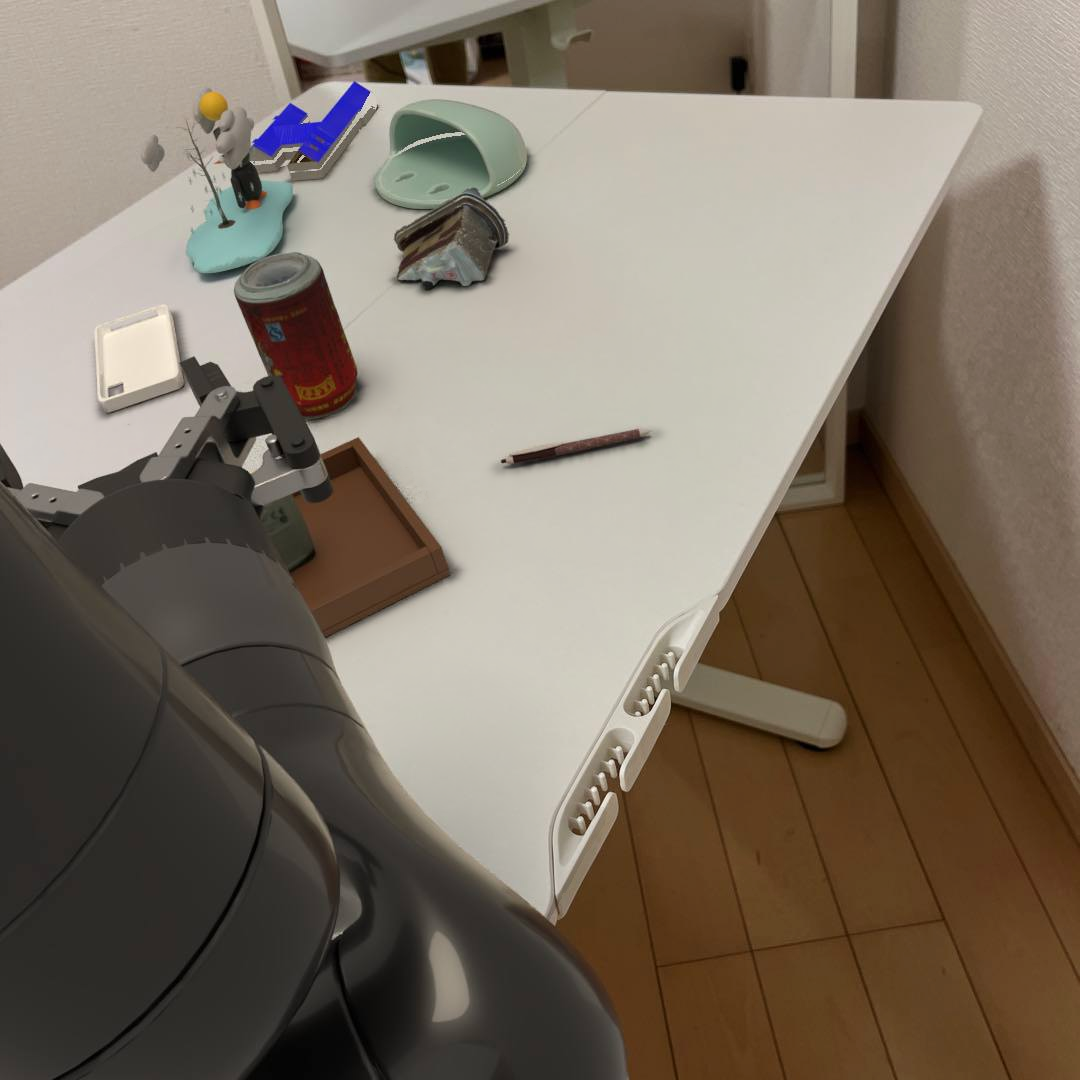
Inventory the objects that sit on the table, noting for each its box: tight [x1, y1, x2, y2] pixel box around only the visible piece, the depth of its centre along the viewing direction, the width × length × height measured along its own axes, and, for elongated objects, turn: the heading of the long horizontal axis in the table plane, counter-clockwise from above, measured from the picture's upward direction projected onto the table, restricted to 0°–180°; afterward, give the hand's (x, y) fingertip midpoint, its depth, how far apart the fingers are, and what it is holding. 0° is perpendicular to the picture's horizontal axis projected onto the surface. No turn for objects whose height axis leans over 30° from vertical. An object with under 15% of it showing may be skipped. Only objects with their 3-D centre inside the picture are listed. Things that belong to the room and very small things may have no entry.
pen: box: [500, 428, 653, 465], centre depth 81 cm, size 11×1×1 cm, turn 96°
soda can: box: [233, 251, 358, 420], centre depth 89 cm, size 7×7×12 cm
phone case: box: [93, 303, 185, 413], centre depth 103 cm, size 7×1×15 cm
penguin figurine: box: [140, 86, 294, 274], centre depth 115 cm, size 20×11×15 cm, turn 179°
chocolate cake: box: [393, 188, 510, 290], centre depth 104 cm, size 10×7×12 cm
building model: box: [249, 80, 378, 182], centre depth 135 cm, size 20×11×4 cm, turn 168°
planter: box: [373, 98, 528, 210], centre depth 120 cm, size 19×7×16 cm
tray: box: [290, 436, 451, 638], centre depth 76 cm, size 20×16×3 cm
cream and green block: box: [248, 467, 315, 573], centre depth 74 cm, size 6×5×8 cm
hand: (98, 416), depth 47 cm, fingers open, 8 cm apart
